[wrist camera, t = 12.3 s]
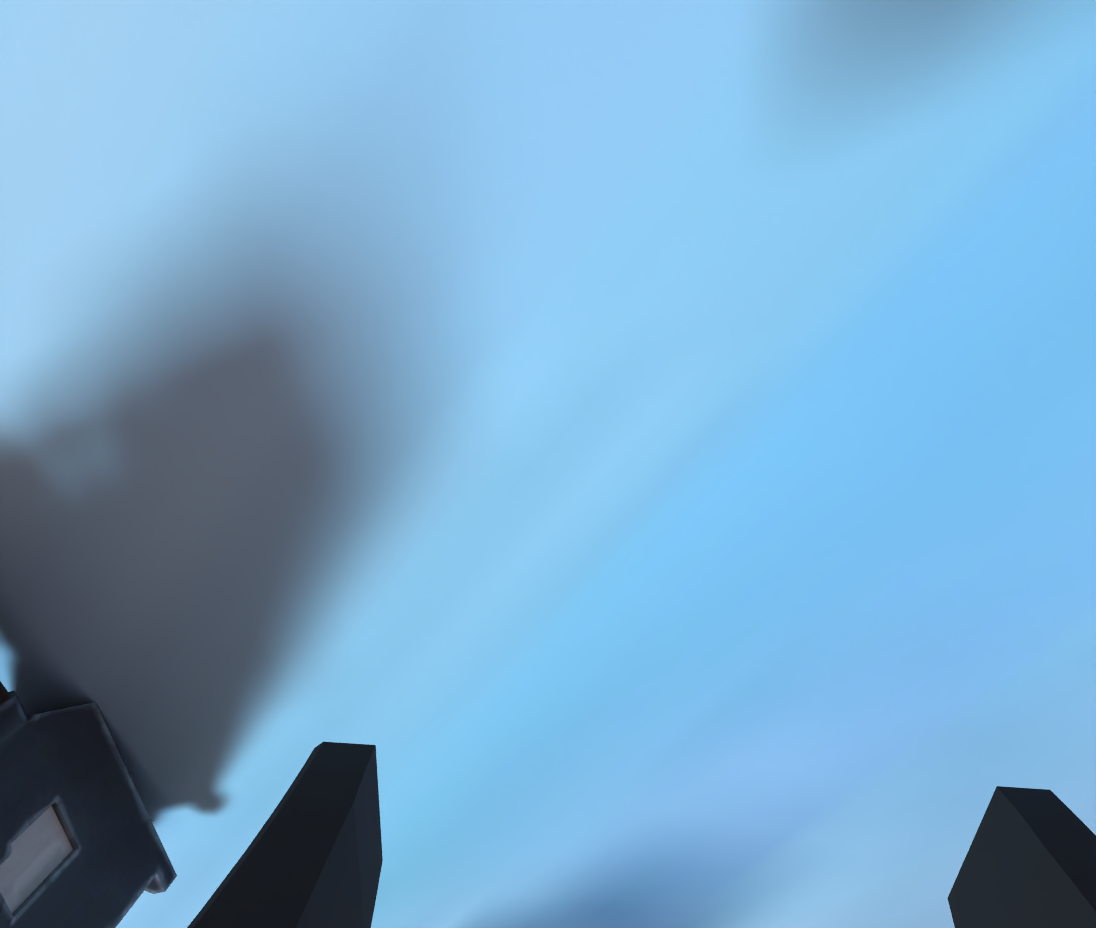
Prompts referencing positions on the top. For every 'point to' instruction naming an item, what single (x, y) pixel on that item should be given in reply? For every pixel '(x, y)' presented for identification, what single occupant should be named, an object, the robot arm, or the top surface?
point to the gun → (70, 822)
